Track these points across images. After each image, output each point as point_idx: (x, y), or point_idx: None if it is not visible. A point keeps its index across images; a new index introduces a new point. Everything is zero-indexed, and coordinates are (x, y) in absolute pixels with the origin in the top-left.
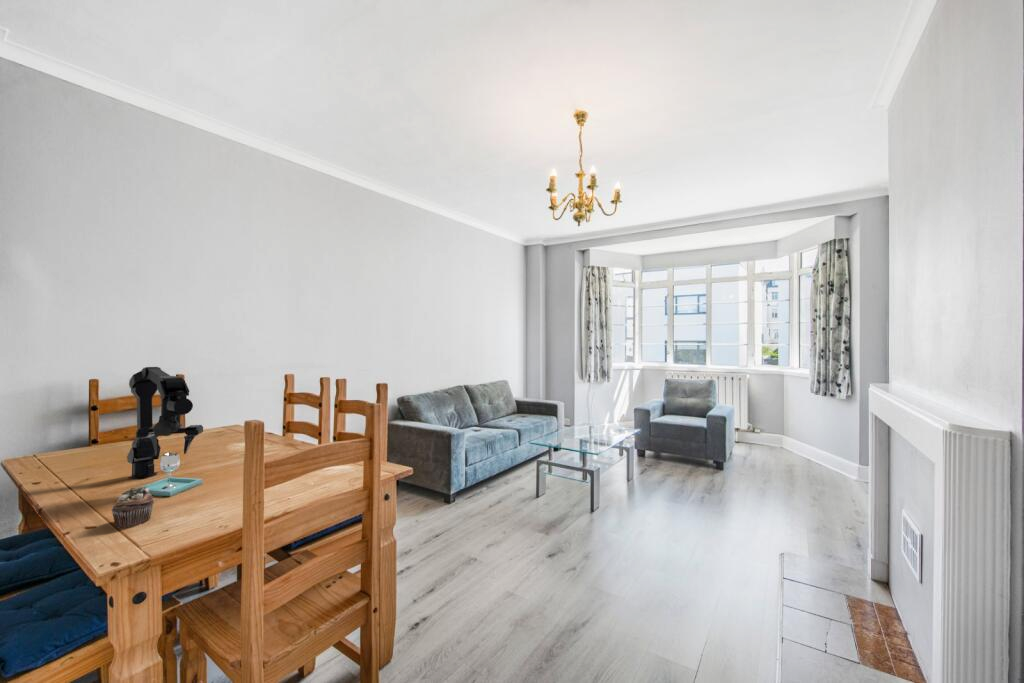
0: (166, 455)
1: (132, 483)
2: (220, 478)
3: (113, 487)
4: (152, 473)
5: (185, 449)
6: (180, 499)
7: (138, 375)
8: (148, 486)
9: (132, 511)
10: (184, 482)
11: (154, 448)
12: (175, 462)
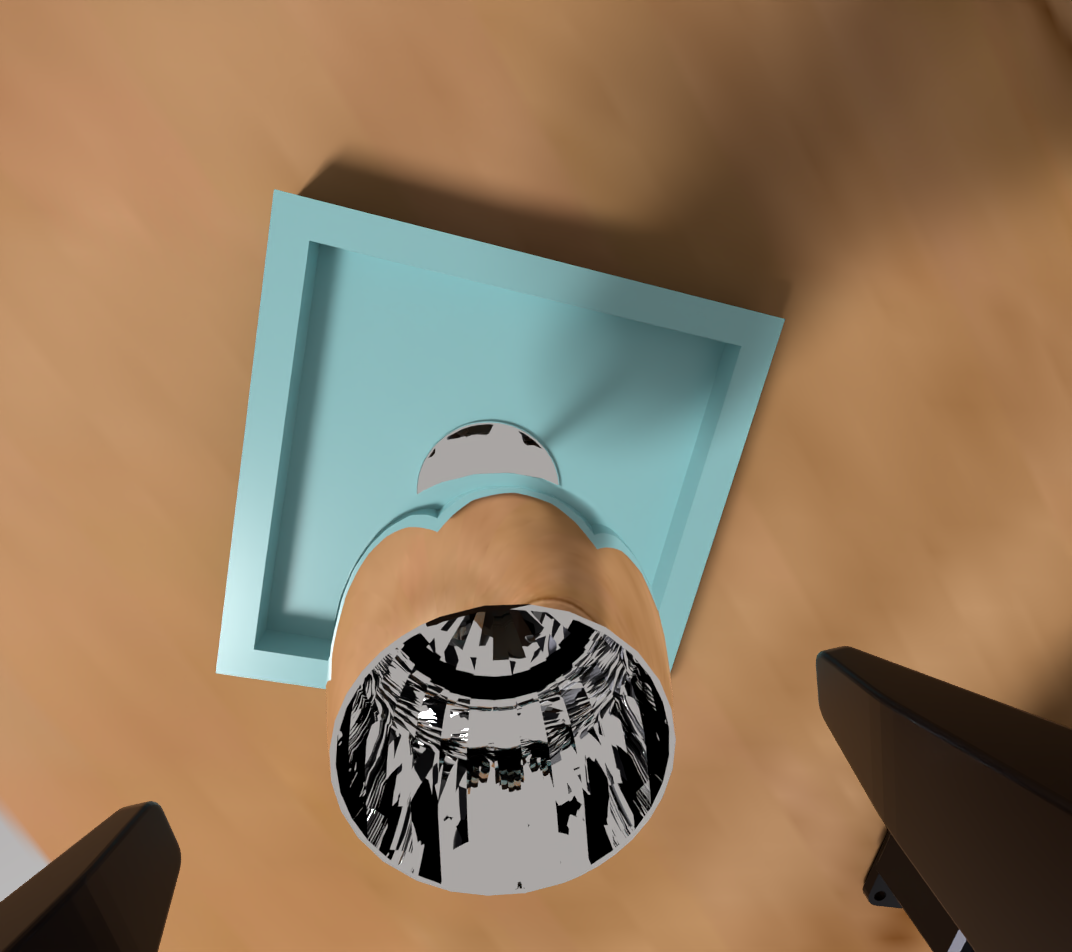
0: (634, 789)
1: (945, 656)
2: (166, 803)
3: (1056, 548)
4: (888, 860)
5: (8, 909)
6: (93, 88)
7: None
8: (698, 464)
9: None
10: None
11: (968, 786)
12: (342, 595)
